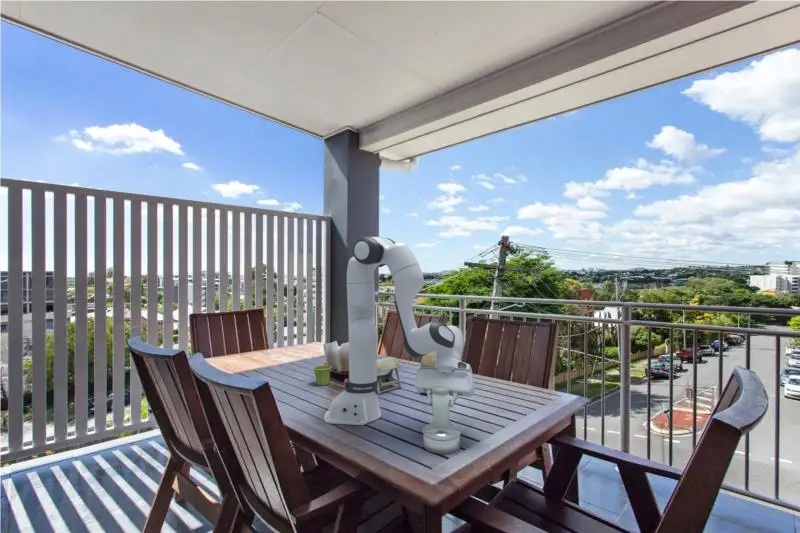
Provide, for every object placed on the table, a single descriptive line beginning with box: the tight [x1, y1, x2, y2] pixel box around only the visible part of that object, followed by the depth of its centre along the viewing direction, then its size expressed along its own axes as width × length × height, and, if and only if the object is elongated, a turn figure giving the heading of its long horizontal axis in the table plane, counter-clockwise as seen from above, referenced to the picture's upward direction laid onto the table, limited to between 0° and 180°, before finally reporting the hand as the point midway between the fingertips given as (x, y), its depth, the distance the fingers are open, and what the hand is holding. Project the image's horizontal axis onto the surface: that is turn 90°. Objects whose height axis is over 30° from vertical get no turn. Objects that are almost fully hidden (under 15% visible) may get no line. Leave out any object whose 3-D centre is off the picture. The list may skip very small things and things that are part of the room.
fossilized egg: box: [420, 351, 437, 369], centre depth 205 cm, size 13×13×15 cm
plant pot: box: [312, 364, 333, 387], centre depth 193 cm, size 9×9×9 cm
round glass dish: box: [422, 422, 462, 455], centre depth 122 cm, size 12×12×5 cm
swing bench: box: [377, 356, 402, 396], centre depth 183 cm, size 15×10×15 cm, turn 134°
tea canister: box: [431, 386, 451, 428], centre depth 123 cm, size 6×6×12 cm
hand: (440, 405), depth 122 cm, fingers closed on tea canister, 5 cm apart
